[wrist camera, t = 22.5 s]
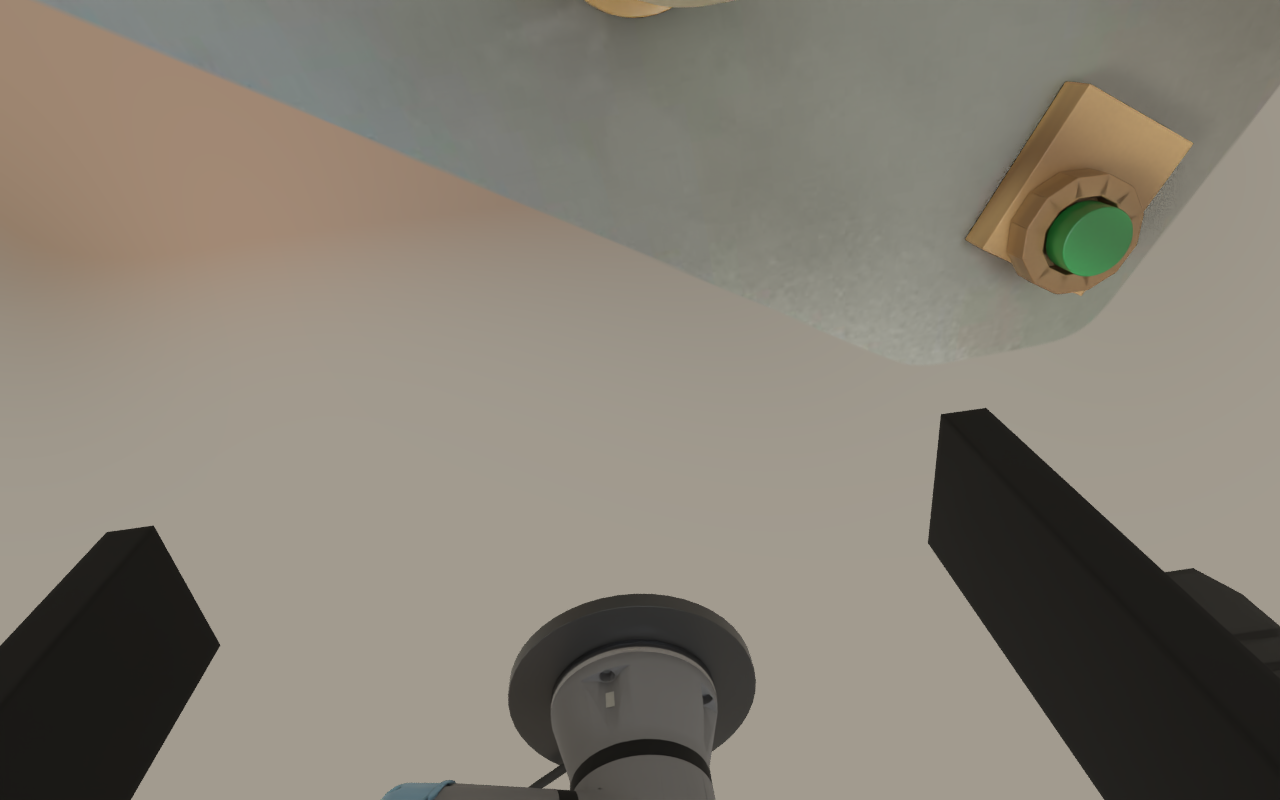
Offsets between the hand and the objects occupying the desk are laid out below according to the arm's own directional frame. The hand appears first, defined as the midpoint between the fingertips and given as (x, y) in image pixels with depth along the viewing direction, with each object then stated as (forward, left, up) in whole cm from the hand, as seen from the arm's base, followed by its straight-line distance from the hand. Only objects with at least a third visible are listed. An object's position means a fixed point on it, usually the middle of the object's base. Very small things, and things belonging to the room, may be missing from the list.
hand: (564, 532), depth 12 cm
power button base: (+11, -28, -33) cm, 44 cm away
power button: (+9, -28, -29) cm, 41 cm away
